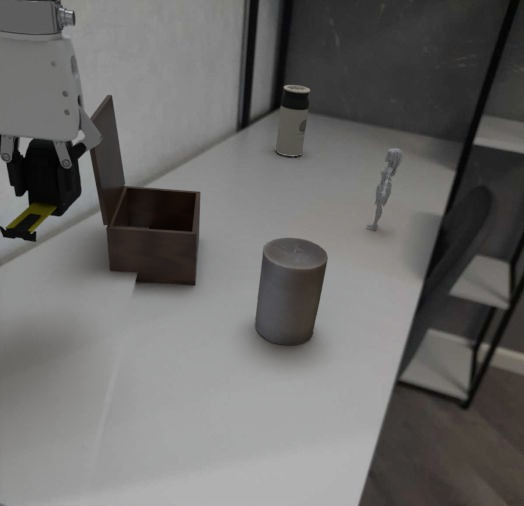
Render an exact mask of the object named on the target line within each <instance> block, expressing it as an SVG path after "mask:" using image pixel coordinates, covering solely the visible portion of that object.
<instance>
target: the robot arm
mask: <svg viewBox="0 0 524 506" xmlns="http://www.w3.org/2000/svg"><path fill="white" fill-rule="evenodd" d="M76 21H77V20H76V12H75V10H71V9H67V7H64V6H63V4H62V0H0V159H1V160H2V161H3V162H4V163H5V164H6V170H7V176H8V183H9V186H10V187H13V190H14V195H15V197H16V198H22V197H24V195H25V194H26V193H27V192H28V191H27V187H26V184H25V180H24V159H25V156H24V154H21V151H20V144H21V138H26V139H33V138H34V139H44V140H53V143H54V146H55V148H56V151H57V154H58V157H59V160H60V161H59V164H60V165H59V166H58V168H57V177H58V185H59V193H60V199H61V200H62V201H67V200H68V199H69V197H70V195H71V194H72V192H75V190H76V181H75V171H74V163H75V162H76V161H77V160H78V161H79V159H80V158H81V157H82V156H84V155H85V153H87V152H88V151H90V149H92V148H93V147H95V146H97V145H98V144H99V143H100V142H101V140H102V135H101V133H100V132H99V131H98V129H97V128H96V126H95V125H94V124H93V122H92V121H91V119H90V118H91V117H89V115H88V114H87V113H86V110H85V109H86V108H85V103H84V95H83V89H82V82H81V76H80V69H79V66H78V59H77V56H76V52H75V47H74V44H73V41H72V36H70V35H68V34H65V33H63V30H64V28H65V27H67V28H68V26H72V27H75V26H76ZM80 131H81V132H82V133H83V135H84V136H83V138H82V139H80V140H78V141H77V142H76V143H75V144H74V143H73V141H74V140H75V139H77V138H78V137H79V132H80Z"/></svg>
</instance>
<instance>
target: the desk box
mask: <svg viewBox="0 0 524 506" xmlns="http://www.w3.org/2000/svg"><path fill="white" fill-rule="evenodd" d="M200 217H201V191H196V190H185V189H184V190H183V189H170V188H159V187H144V186H134V185H133V186H132V185H124V187H123V190H122V192H121V195H120V197H119V200H118V202H117V205H116V207H115V210H114V212H113V215H112V217H111V220H110V222H109V225H106V227H105V230H106V241H107V255H108V264H109V272H122V273H136V277H135V282H134V283H149V284H150V283H153V284H169V285H187V286H196V284H197V283H196V282H197V270H198V269H197V268H198V257H199V245H200V244H199V243H200V225H201V223H200V222H201V221H200V219H201V218H200Z"/></svg>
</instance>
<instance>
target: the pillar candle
mask: <svg viewBox="0 0 524 506" xmlns="http://www.w3.org/2000/svg"><path fill="white" fill-rule="evenodd" d="M328 259H329V257H328V253H327V251H326V250H325V249H324V248H323V247H322V246H320V245H319V244H318V243H315V242H313V241H312V240H311V241H310V240H308V239H304V238H298V237H280V238H275V239H272V240H270V241H266V243H265V244H263V247H262V257H261V265H260V275H259V283H258V284H259V285H258V290H257V291H258V293H257V302H256V311H255V318H254V321H255V322H254V328H255V330H256V332H258V333H259V335H260V336H262V337H263V338H264V339H265V340H267V341H268V342H271V343H274V344H277V345H280V346H294V345H299V344H303V343H305V342H307V341H309V340H310V339H311V338H312V337H313V335H314V329H315V324H316V320H317V315H318V311H319V306H320V301H321V296H322V291H323V286H324V280H325V276H326V271H327V266H328V265H327V264H328Z"/></svg>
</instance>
